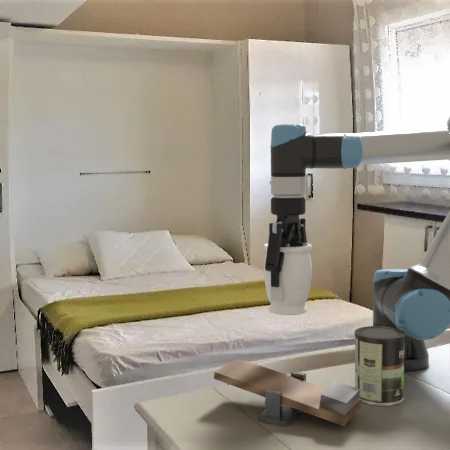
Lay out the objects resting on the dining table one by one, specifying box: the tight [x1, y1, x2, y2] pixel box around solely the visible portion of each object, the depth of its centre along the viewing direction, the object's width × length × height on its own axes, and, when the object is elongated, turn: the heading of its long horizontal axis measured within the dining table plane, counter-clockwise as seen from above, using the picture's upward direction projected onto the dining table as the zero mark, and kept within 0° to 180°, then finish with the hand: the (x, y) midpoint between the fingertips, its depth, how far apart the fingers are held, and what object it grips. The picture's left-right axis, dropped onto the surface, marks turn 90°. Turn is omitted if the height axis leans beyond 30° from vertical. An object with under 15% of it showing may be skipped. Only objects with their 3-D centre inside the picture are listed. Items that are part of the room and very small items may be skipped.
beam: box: [213, 358, 363, 427], centre depth 129 cm, size 28×10×4 cm, turn 60°
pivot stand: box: [256, 370, 307, 428], centre depth 129 cm, size 6×14×6 cm, turn 150°
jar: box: [263, 242, 313, 316], centre depth 143 cm, size 11×10×15 cm
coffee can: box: [354, 325, 405, 407], centre depth 136 cm, size 10×10×14 cm
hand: (287, 296), depth 143 cm, fingers closed on jar, 10 cm apart
